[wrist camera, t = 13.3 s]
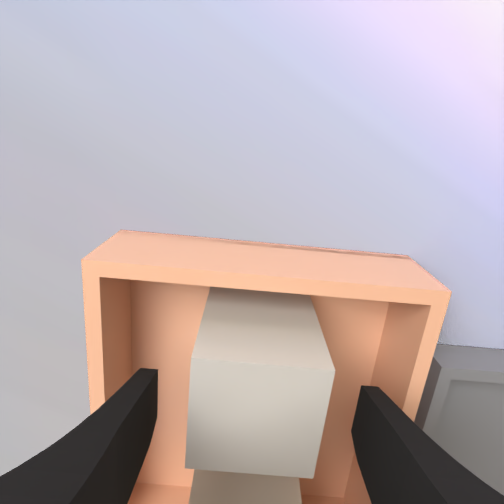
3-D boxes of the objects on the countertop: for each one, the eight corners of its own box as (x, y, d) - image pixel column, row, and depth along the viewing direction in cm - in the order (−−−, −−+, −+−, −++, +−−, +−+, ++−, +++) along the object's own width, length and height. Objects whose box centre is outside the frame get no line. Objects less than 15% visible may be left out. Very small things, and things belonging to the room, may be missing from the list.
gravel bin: (349, 496, 22) (369, 573, 18) (126, 480, 21) (99, 555, 18) (407, 255, 17) (451, 291, 13) (120, 229, 17) (81, 259, 13)
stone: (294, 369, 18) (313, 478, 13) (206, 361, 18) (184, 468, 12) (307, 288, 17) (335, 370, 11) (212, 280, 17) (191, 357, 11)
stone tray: (532, 572, 24) (556, 610, 22) (362, 560, 24) (371, 598, 22) (638, 360, 19) (681, 386, 17) (422, 342, 18) (441, 367, 16)
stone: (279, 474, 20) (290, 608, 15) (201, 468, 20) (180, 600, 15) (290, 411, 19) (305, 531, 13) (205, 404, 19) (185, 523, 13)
